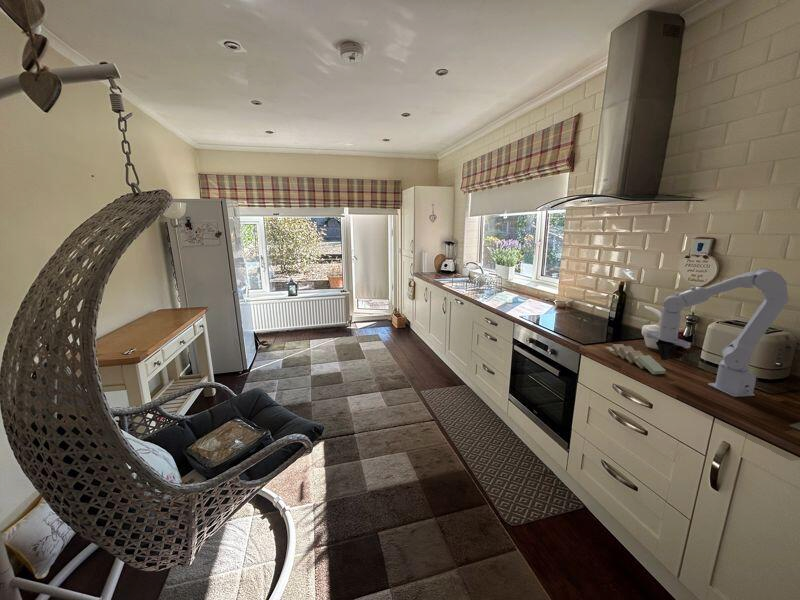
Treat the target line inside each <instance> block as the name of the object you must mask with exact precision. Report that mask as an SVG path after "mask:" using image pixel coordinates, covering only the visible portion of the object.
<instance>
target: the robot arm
mask: <svg viewBox="0 0 800 600" xmlns="http://www.w3.org/2000/svg"><path fill="white" fill-rule="evenodd" d="M787 284H788V282H787V280H786V279H785V278H784V277H783V276H782V275H781V274H780V273H778V272H776V271H774V270H772V269H769V268H758V269H756V270H754V271H748V272H744V273H742V274H738V275H736V276H735V275H734V276H733V277H731V278H728V279H726V280H722V281H720V282H718V283H714V284H712V285H710V286H709V285H708V287H703V286H696V287H695V286H692V287H690V289H688V290H684V291H682V292H675V294H674V295H668V296H667V297H665V299H663V303H662V304H663V308H664V309H663V308H662V309H663V314H662V317H661V324H660V331H659V334H657V333H652V332H648V333H647V335H646V337H648V338H653V339H657V340H658V342H656V345H657V346H658V348H659V349H658V351H659V355H660V360H662V361H668V360H669V358H670V356H671V354H672V353H673V351H674V350H675V349H676V348H677V347H682V348H684V349H690V348H691V346H692V345H691V344H692V342H689V341H686V340H684V339H681V338H678V337H679V332H680V330H679V329H680V324H681V318H682V316H681V314H682V313H681V311H683V310H684V308H689V307H692V306H696V305H699V304H702V303H705V302H708V301H709V299H710V298H711V296H715V295H718V294H721V293H725V292H729V291H732V290H734V289H738V288H742V289H743V288H745V289H753V288H754V287H756V288H757V289H758V290H759V291H760V294H761V295H762V296H763V298H764V300H763V301H762V303H761V304H760V305H759V307H758V308H757V309H756V311H755V312H754V314H753V315H752V316H751V318H750V319H749V320H748V322H747V324H745V326H744V327H743V329H742V330H741V332H740V333H739V334H738V335H737V337H736V338H734V340H732V341H731V342H730V344H728V345H725V346H724V347H723V348H722V350H721V351H720V352H721V353H720V355H721V356H722V358H723V359H722V360H720V362H719V364H718V368H717V373H716V374H717V375H716V379H715V382H709V383H708V386H710V387H712V388H714V389H716V390H719V391H720V392H723V393H726V394H727V395H730V396H732V397H734V398H735V397H736V398H737V397H754V396H755V395H756V394H755V393H754V390H755V386H756V383H757V382H756V381H757V377H756V375H755V374H754V373H751V372H750V371H749V370H748V368H749V366H750V364H751V357H752V356H753V354H754V350H755V347H756V345H757V344H758V343H759V341H761V339H762V337H763V336H764V335H765V334H766V332H767V331H768V329H769V328H770V327H771V325H772V324H773V323H774V322H775V320H776V319H777V318H778V316H779V315H780V314H781V312H782V310H783V309H784V308H785V306H786V305H787V304H788V303H789V300H790V298H789V293H788V287H787Z"/></svg>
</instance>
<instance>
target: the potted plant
mask: <svg viewBox="0 0 800 600" xmlns="http://www.w3.org/2000/svg"><path fill="white" fill-rule="evenodd" d="M644 309H646V310H648V311H650V312H651V313H652V314H653V315H654V317H657V318H658V319H659V320H658V323H657V324H655V323H654V324H645V325H642V326H641V327H642V328H641V335H642V336H643V339H644V343H645V346H646V347H647V348H650V349H653V350H659V348H658V346H657V345H656V342H658V340H657V339H653V338H648V337H646V335H647V333H648V332H652V333H657V334H659V331H660V324H661V317H662V314H663V309H664V307H662V309H661V310H660V309H656V307H655V308H654V307H651V306H647V305H644Z"/></svg>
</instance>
